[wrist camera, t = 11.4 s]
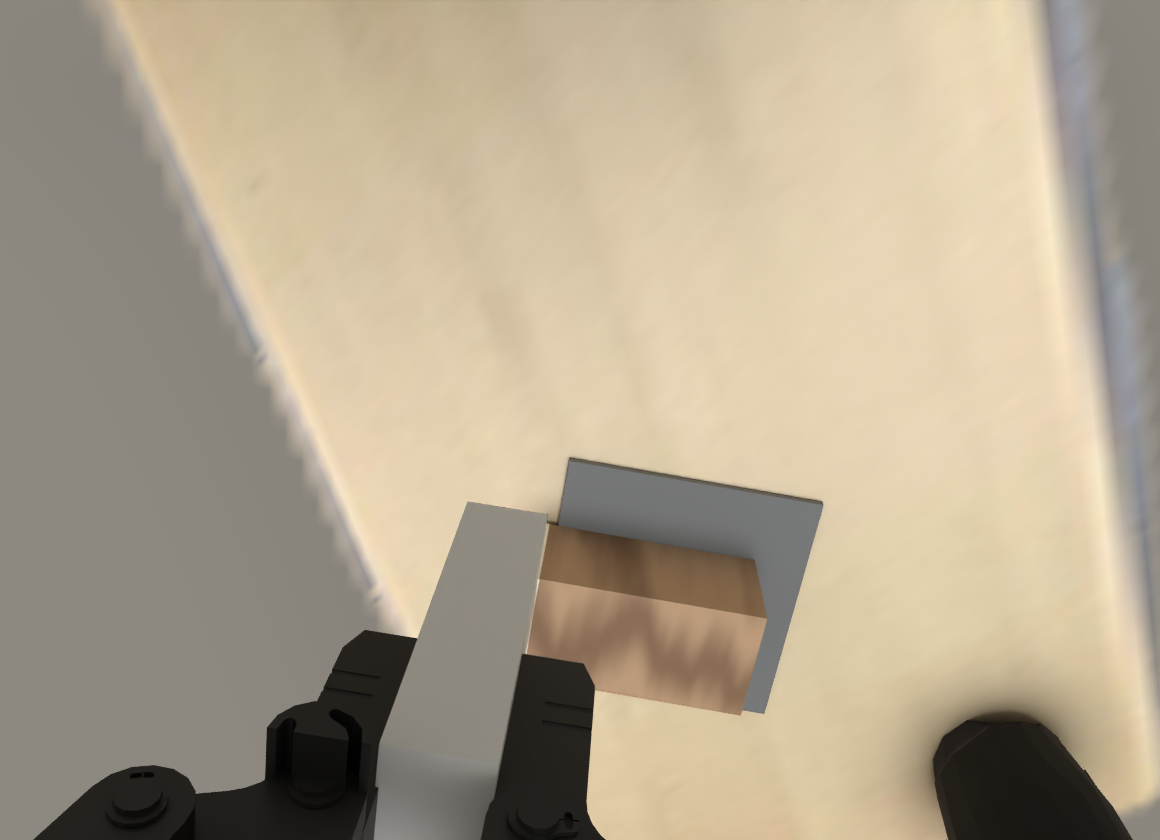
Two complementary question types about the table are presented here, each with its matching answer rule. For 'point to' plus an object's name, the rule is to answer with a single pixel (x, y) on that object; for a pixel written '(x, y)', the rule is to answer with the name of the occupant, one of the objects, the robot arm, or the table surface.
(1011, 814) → the portable speaker
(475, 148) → the table surface
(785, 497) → the mat
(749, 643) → the walnut block
